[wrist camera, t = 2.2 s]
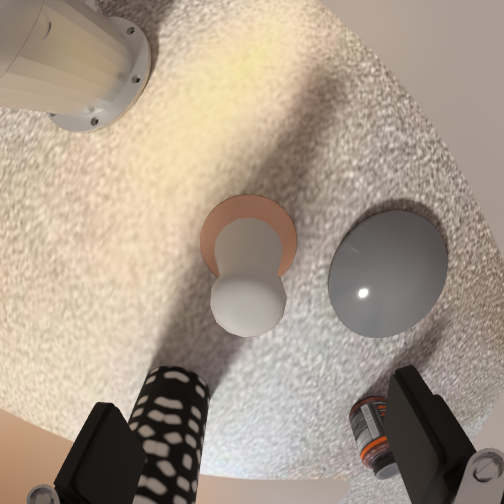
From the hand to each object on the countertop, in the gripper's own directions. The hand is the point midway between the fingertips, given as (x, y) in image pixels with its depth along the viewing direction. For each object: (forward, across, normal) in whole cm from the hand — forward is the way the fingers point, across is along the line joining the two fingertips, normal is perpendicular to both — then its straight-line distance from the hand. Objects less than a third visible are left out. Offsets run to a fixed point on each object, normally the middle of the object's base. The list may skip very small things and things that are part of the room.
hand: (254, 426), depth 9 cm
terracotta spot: (+21, 0, -1) cm, 21 cm away
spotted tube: (+21, +12, +16) cm, 29 cm away
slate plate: (+21, -14, +5) cm, 26 cm away
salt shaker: (+21, 0, -1) cm, 21 cm away
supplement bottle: (+21, -12, +25) cm, 35 cm away
